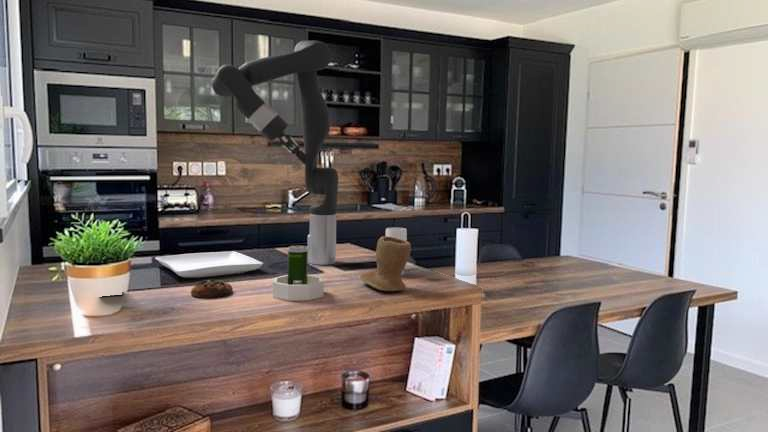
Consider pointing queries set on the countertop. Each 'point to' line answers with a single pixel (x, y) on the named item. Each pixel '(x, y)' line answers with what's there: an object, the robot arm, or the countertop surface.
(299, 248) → the beer can
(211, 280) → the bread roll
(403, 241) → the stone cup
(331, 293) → the countertop surface
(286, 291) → the cream bowl
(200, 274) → the square plate
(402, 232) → the drinking glass
